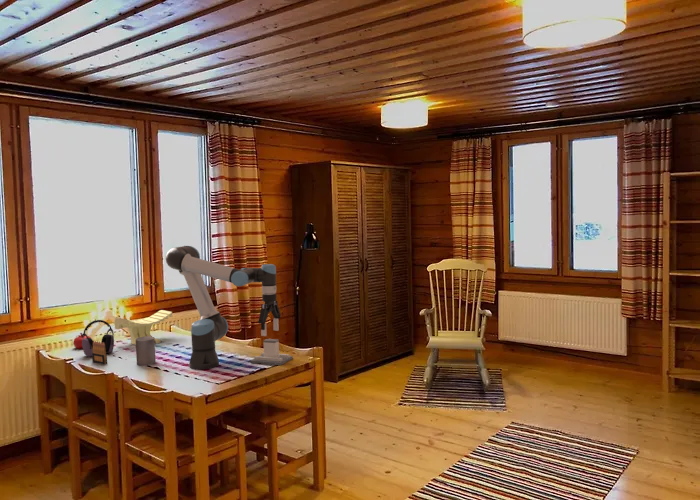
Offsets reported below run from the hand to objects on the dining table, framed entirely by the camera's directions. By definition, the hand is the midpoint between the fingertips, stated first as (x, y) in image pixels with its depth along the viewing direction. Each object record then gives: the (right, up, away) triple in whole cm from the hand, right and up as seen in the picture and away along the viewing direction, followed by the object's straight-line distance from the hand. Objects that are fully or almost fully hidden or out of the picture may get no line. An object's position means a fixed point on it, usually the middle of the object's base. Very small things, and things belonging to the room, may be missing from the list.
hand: (270, 333), depth 309 cm
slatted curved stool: (-85, -14, +53) cm, 102 cm away
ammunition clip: (-93, -17, +6) cm, 95 cm away
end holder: (+1, -15, +1) cm, 15 cm away
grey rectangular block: (+1, -14, +1) cm, 14 cm away
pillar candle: (-67, -17, +3) cm, 69 cm away
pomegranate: (-120, -15, +44) cm, 129 cm away
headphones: (-102, -16, +26) cm, 106 cm away
